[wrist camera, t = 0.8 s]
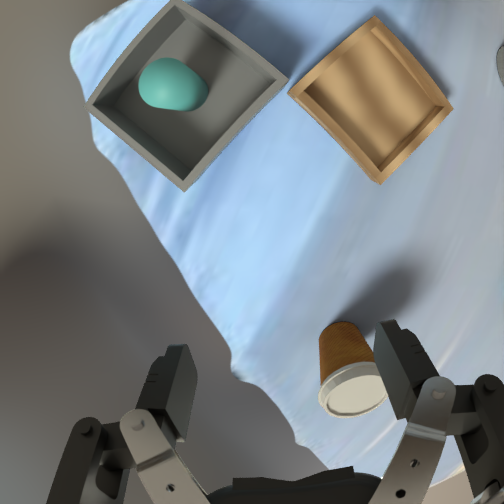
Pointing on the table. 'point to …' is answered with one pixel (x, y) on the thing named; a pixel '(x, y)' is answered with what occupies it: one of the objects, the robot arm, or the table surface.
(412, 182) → the table surface
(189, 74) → the peg
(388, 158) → the tray
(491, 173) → the table surface
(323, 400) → the disposable coffee cup
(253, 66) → the deep bin
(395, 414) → the robot arm
